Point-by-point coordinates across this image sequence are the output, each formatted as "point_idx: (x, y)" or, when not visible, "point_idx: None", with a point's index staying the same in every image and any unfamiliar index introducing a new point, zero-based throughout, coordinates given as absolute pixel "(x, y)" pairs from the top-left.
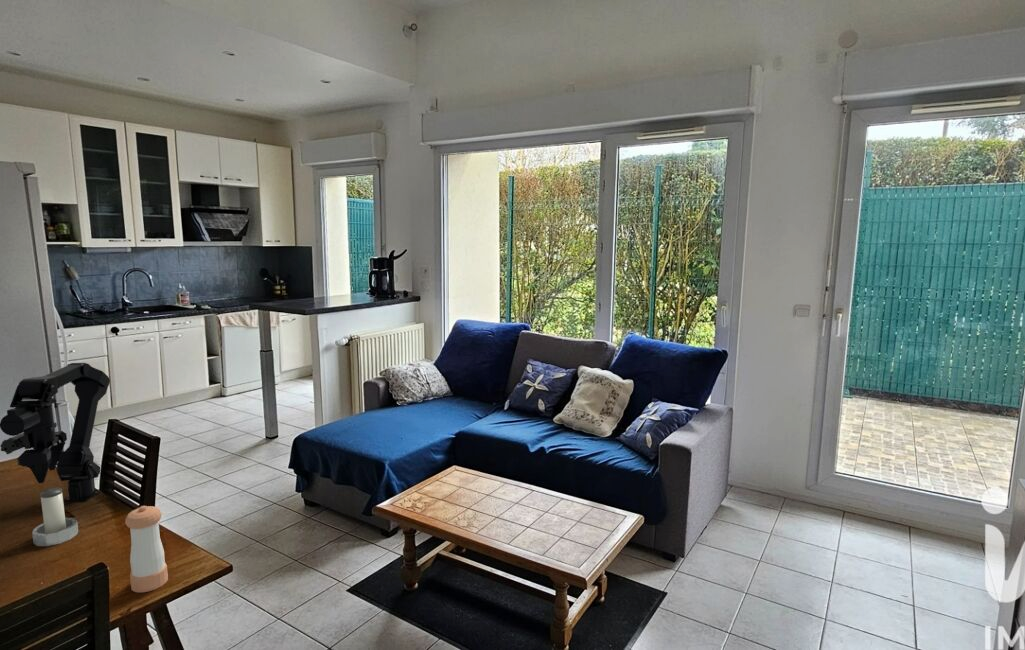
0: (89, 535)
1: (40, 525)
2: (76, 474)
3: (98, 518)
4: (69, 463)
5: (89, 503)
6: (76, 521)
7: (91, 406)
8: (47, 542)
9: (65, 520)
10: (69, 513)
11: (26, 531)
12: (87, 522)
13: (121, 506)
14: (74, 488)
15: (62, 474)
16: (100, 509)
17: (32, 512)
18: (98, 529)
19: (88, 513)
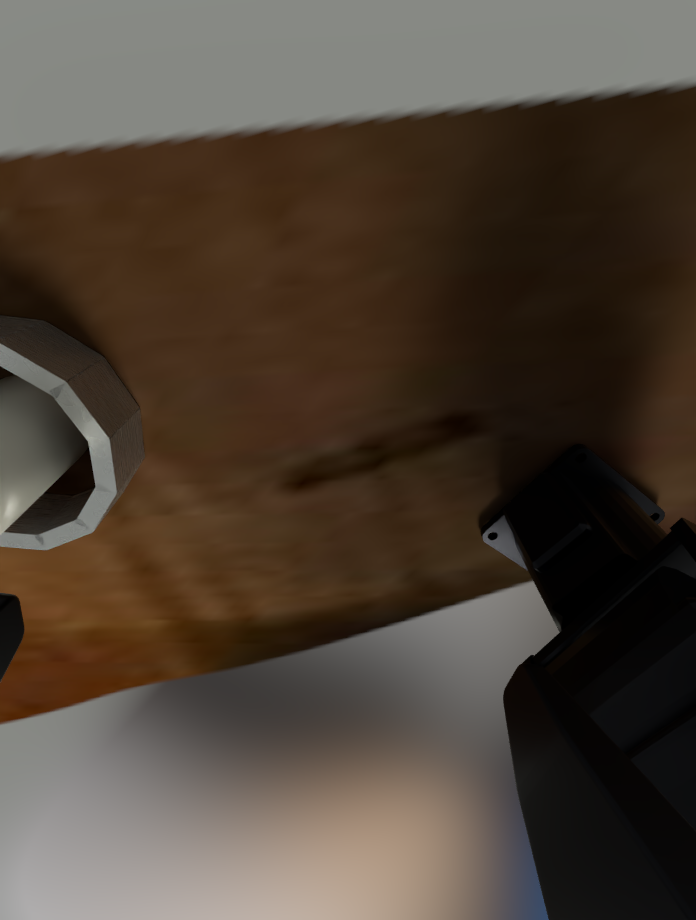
0: (2, 549)
1: (38, 374)
2: (551, 672)
3: (200, 577)
4: (644, 771)
5: (436, 545)
6: (33, 547)
7: None
8: None
9: (92, 495)
10: (354, 468)
11: (199, 256)
12: (173, 540)
13: (296, 647)
14: (540, 553)
15: (637, 602)
16: (314, 583)
17: (534, 269)
18: (62, 577)
19: (294, 543)
